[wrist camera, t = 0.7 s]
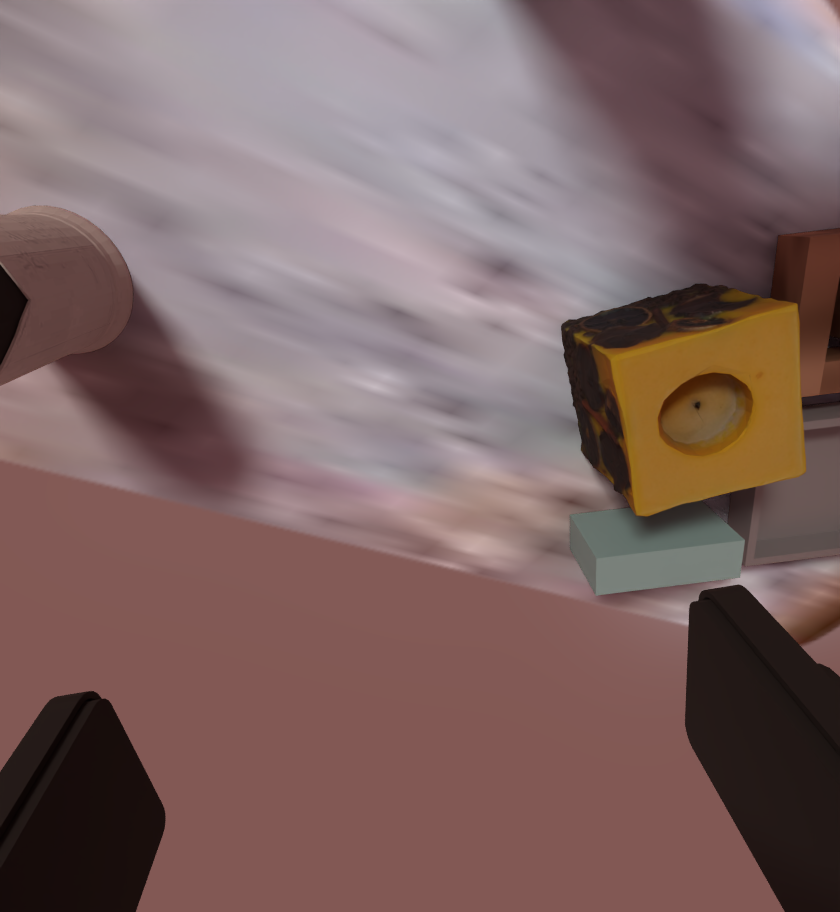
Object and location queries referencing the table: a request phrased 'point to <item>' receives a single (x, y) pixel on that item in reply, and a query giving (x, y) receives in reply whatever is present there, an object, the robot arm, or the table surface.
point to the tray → (796, 500)
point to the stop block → (654, 548)
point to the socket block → (811, 302)
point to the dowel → (836, 316)
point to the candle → (689, 394)
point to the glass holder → (57, 289)
